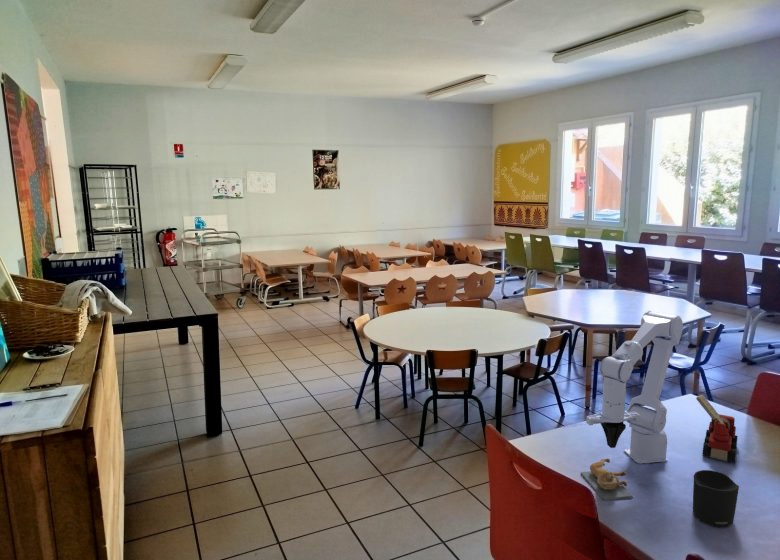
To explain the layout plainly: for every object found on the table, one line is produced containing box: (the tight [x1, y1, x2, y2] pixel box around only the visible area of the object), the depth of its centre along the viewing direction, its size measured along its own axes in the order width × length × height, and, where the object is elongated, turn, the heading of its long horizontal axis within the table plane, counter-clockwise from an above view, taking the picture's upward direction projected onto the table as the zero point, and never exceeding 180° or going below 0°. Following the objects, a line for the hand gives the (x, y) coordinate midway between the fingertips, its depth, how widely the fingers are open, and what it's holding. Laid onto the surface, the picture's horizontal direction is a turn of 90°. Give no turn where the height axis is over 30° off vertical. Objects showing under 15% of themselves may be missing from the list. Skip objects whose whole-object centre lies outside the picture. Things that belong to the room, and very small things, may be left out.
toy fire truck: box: [695, 394, 738, 464], centre depth 163 cm, size 11×16×18 cm
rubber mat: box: [580, 470, 633, 501], centre depth 147 cm, size 8×13×1 cm, turn 7°
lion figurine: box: [589, 458, 628, 490], centre depth 148 cm, size 15×5×9 cm
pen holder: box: [692, 469, 740, 528], centre depth 132 cm, size 9×9×10 cm
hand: (611, 446), depth 150 cm, fingers closed
